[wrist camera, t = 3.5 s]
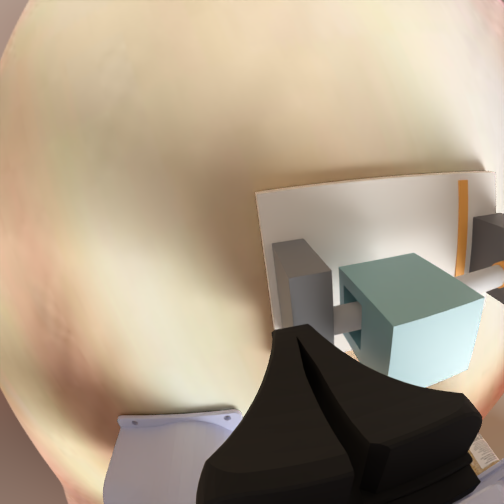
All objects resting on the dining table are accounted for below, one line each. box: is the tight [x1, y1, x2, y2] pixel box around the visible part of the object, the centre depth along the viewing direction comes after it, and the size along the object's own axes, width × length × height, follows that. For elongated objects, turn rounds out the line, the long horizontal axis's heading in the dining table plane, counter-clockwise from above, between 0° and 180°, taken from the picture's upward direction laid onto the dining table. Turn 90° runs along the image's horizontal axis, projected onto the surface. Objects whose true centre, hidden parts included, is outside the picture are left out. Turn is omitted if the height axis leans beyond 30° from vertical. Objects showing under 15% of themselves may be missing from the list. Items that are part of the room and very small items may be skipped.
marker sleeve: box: [339, 253, 485, 388], centre depth 11 cm, size 4×3×5 cm
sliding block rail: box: [255, 171, 504, 352], centre depth 14 cm, size 16×10×7 cm, turn 98°
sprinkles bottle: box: [468, 432, 499, 475], centre depth 17 cm, size 5×5×14 cm
